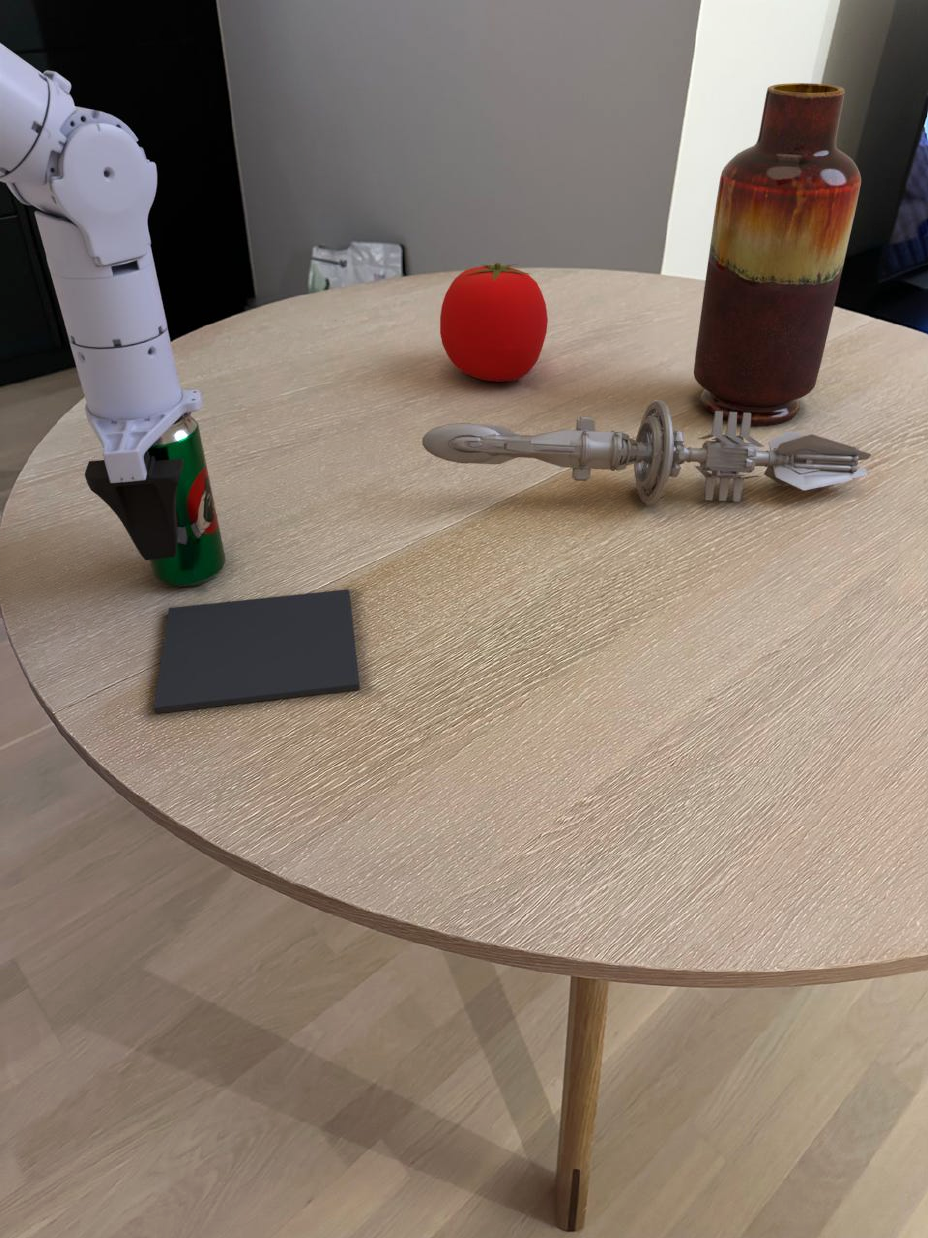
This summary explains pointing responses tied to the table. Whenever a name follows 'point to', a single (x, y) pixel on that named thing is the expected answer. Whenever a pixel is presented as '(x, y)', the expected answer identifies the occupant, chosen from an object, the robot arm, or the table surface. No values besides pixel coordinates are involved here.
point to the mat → (257, 651)
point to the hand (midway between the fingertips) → (165, 526)
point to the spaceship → (658, 453)
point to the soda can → (190, 510)
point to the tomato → (493, 322)
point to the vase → (776, 258)
